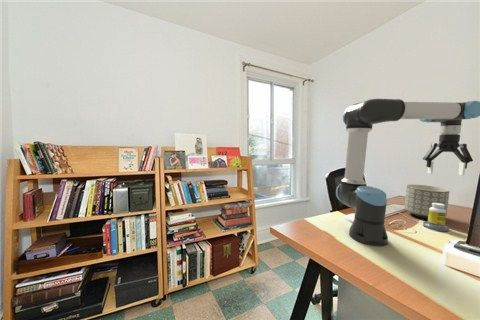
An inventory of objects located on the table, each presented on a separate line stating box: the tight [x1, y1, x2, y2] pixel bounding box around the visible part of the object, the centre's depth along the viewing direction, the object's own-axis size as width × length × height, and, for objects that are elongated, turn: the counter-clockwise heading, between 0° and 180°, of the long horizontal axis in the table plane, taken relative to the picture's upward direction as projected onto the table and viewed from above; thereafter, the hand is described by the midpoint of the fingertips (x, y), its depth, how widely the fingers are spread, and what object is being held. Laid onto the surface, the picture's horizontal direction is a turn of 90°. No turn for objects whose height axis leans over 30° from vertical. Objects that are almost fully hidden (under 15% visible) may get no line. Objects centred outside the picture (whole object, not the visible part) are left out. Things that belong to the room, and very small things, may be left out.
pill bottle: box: [427, 203, 447, 227], centre depth 104 cm, size 6×6×12 cm
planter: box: [404, 184, 450, 220], centre depth 121 cm, size 19×19×18 cm
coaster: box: [422, 220, 451, 233], centre depth 105 cm, size 10×10×2 cm
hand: (445, 174), depth 105 cm, fingers open, 13 cm apart
